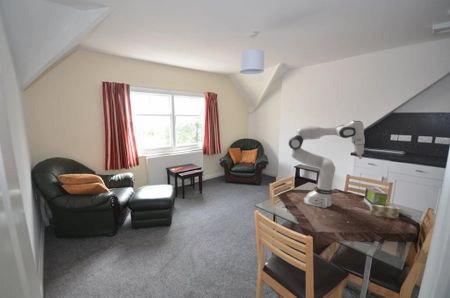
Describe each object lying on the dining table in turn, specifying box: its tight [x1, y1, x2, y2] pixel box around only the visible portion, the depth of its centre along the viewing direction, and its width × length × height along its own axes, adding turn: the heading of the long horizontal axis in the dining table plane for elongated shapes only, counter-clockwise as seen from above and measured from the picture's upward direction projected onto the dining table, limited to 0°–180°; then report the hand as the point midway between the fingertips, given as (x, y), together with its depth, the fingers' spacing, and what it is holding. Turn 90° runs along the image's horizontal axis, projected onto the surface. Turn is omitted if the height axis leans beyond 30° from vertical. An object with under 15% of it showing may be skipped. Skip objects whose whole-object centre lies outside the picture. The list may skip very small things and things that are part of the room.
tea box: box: [363, 185, 388, 208], centre depth 175 cm, size 15×10×15 cm, turn 168°
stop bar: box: [369, 204, 401, 219], centre depth 159 cm, size 18×3×8 cm, turn 75°
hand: (359, 157), depth 166 cm, fingers open, 8 cm apart
